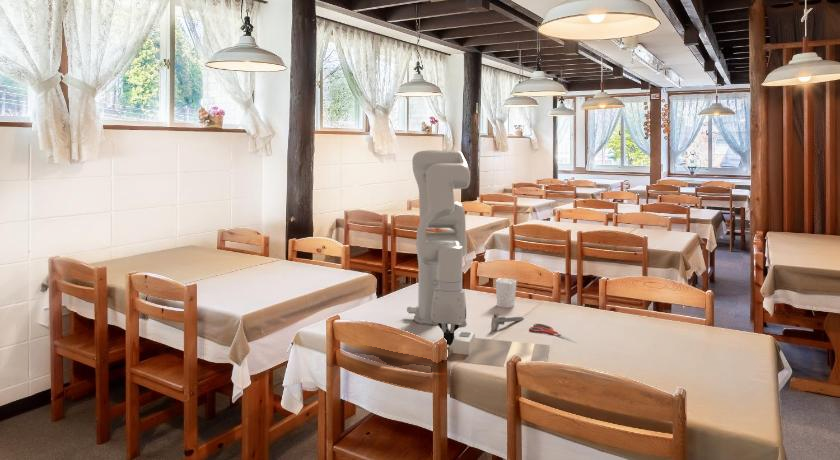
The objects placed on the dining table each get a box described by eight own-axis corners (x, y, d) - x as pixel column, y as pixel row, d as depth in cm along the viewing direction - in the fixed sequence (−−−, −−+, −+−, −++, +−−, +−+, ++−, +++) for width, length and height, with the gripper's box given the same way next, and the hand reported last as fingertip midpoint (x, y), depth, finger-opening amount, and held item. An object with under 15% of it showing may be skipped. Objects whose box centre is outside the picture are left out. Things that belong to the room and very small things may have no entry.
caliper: (493, 333, 196) (494, 315, 195) (491, 332, 197) (491, 314, 196) (523, 319, 212) (524, 302, 211) (521, 319, 212) (521, 302, 211)
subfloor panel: (439, 361, 170) (439, 359, 170) (455, 337, 191) (455, 336, 191) (545, 372, 162) (545, 371, 162) (549, 346, 183) (549, 345, 183)
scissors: (579, 346, 184) (579, 342, 184) (524, 331, 199) (524, 327, 199) (592, 341, 190) (592, 336, 190) (537, 326, 205) (537, 322, 204)
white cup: (494, 307, 226) (495, 282, 224) (495, 302, 233) (496, 277, 232) (515, 308, 224) (516, 283, 223) (515, 303, 232) (516, 278, 231)
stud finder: (452, 353, 175) (452, 339, 174) (458, 343, 184) (458, 330, 183) (469, 354, 174) (469, 341, 173) (474, 344, 182) (474, 332, 182)
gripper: (422, 286, 175) (422, 345, 178) (471, 290, 171) (470, 350, 174) (429, 281, 183) (428, 337, 185) (476, 284, 179) (475, 342, 181)
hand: (448, 343), depth 180 cm, fingers closed
